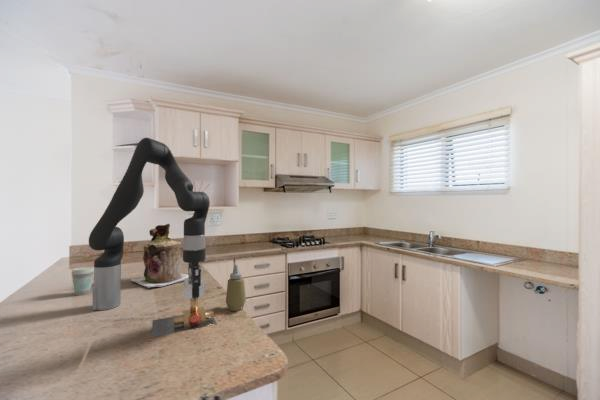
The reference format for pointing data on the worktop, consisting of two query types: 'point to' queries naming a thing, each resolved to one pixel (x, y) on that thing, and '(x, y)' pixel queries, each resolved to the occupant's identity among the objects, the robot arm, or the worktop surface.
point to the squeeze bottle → (235, 291)
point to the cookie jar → (161, 260)
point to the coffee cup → (82, 280)
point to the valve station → (184, 320)
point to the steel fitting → (189, 288)
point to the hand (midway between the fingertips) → (194, 294)
